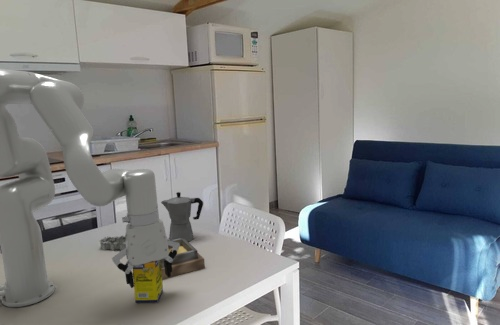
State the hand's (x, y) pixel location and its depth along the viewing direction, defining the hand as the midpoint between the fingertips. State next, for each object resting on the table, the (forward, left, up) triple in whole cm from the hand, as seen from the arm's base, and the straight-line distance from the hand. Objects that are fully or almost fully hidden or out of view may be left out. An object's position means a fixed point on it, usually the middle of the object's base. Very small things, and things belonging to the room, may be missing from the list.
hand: (150, 280), depth 98 cm
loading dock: (+11, +16, -5) cm, 20 cm away
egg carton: (-2, +42, -5) cm, 42 cm away
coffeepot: (+22, +35, -5) cm, 42 cm away
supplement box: (0, 0, -5) cm, 5 cm away
